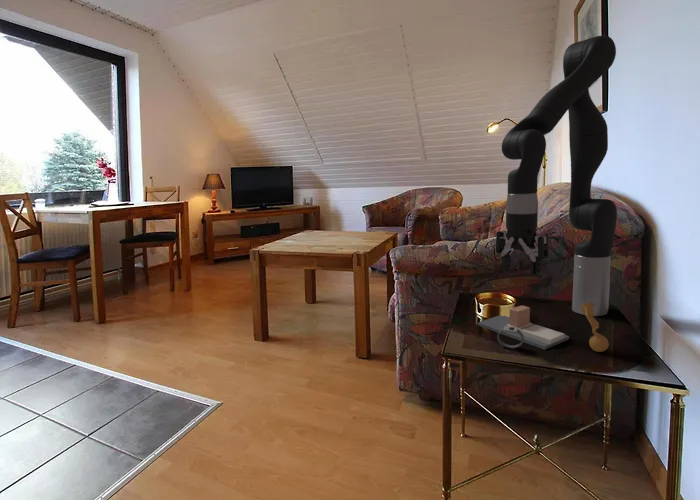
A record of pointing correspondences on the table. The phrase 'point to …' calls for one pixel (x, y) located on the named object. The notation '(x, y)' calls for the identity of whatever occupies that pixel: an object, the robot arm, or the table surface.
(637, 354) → the table surface
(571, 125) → the robot arm
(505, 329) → the wristwatch
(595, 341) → the figurine
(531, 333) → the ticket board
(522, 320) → the tan rectangular block
